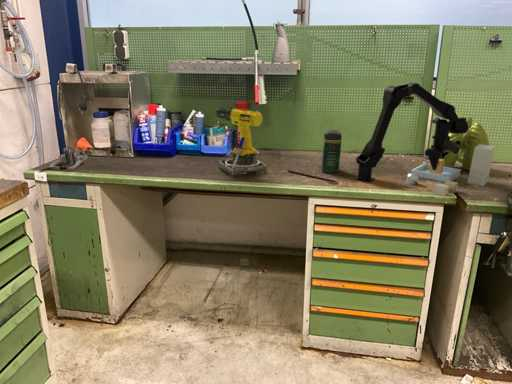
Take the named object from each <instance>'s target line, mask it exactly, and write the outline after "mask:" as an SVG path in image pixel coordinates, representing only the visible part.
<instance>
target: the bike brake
mask: <svg viewBox="0 0 512 384" xmlns="http://www.w3.org/2000/svg"><path fill="white" fill-rule="evenodd" d="M81 151H82V154H80V155H77V152H76V150H75V149H74V150H72V151H71V153H70V152H69V149H67V148H66V147H64V148H63V154H60V155H58V159H57V160H55V161H53V162H52V163H50V164H49V166H48V167H46V168H44V169H42V170H39V171H38V173H42V172H44V171H46V170H62V171H63V170H69V171H73V170H75V169H77V168H78V166H80V165H81V164H82V162H87V161H88V158H89V157H88V155H86V152H85V148H84V149H82V150H81ZM70 155H71V156H70ZM71 157H72V158H71ZM71 159H72V161H71ZM64 161H65V162H66V165H69V164H71V163H72V164H73V165H72V166H69V167H67V166H58V164H61V163H63V162H64ZM56 165H57V166H56Z"/></svg>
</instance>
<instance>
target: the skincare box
mask: <svg viewBox="0 0 512 384" xmlns="http://www.w3.org/2000/svg"><path fill="white" fill-rule="evenodd" d="M489 145H490V144H489ZM489 145H481V144H479V145H478V146H476V147H475V148H474V153H473V158H472V163H471V169H470V170H469V174H468V178H467V179H468V180H467V184H470V185H475V186H481V187H485V186H486V184H487V183H488V182H489V177H490V172H491V168H492V163H493V158H494V154H495V149H496V146H495V145H490V146H489Z"/></svg>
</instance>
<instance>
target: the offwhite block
mask: <svg viewBox="0 0 512 384" xmlns="http://www.w3.org/2000/svg"><path fill="white" fill-rule="evenodd" d="M448 190H449V185H445V184H444V183H441V182H437V184H435V185H434V189H433V195H437V194H438V195H437V196H442V197H445V196H447V195H448V194H449V192H448ZM446 194H447V195H446Z"/></svg>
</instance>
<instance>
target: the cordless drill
mask: <svg viewBox="0 0 512 384" xmlns="http://www.w3.org/2000/svg"><path fill="white" fill-rule="evenodd" d="M213 113H214V115H215V116H216V117H217V118H219V119H223V120H224V119H225V121H228V122H231V124H232V125H233V126H235V128H234V130H235V131H236V132H238V133H239V135H240V140H239V143H238V145H237V146H235V147H234V149H233V151H232V158H229V159H221V160H219V161H218V165H219V169H220V170H224V172H225V173H226V174H227V175H231V174H232V175H233V177H235V176H239V175H242V174H245V173H246V174H248V173H249V172H250V173H251V172H253V171H254V172H256V171H257V172H258V171H259V172H260V171H262V172H263V171H264V172H265V171H267V167H268V166H267V165H266V164H265V163H264V162H262V161H260V160H258V159H257V154H259V153H260V152H259V151H258V150H257V149H256V148H255V147H253V137H252V132H251V126H252V127H260V126H261V125H262V123H263V117H264V116H263V114H262V113H261V112H260V111H259V110H257V111H254V110H250V109H245V108H242V109H241V108H237V107H235V108H232V107H230V106H229V107H226V108H223V107H218V108H215V110H213Z"/></svg>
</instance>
